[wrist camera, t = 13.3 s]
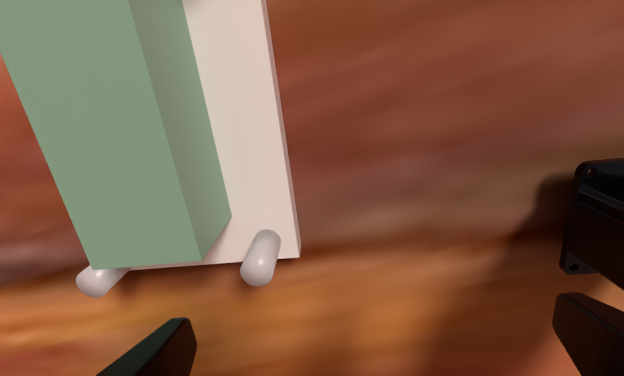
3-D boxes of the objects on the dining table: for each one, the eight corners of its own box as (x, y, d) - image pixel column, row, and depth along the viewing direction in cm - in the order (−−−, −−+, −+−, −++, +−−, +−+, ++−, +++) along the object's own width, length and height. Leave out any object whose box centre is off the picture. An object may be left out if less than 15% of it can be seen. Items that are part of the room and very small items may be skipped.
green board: (174, -34, 13) (104, -84, 9) (232, 216, 17) (201, 260, 13) (67, -16, 14) (-46, -56, 10) (148, 224, 18) (92, 270, 14)
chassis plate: (249, -115, 14) (214, -201, 9) (301, 244, 20) (294, 290, 15) (0, -71, 15) (-134, -131, 10) (122, 258, 21) (69, 305, 16)
